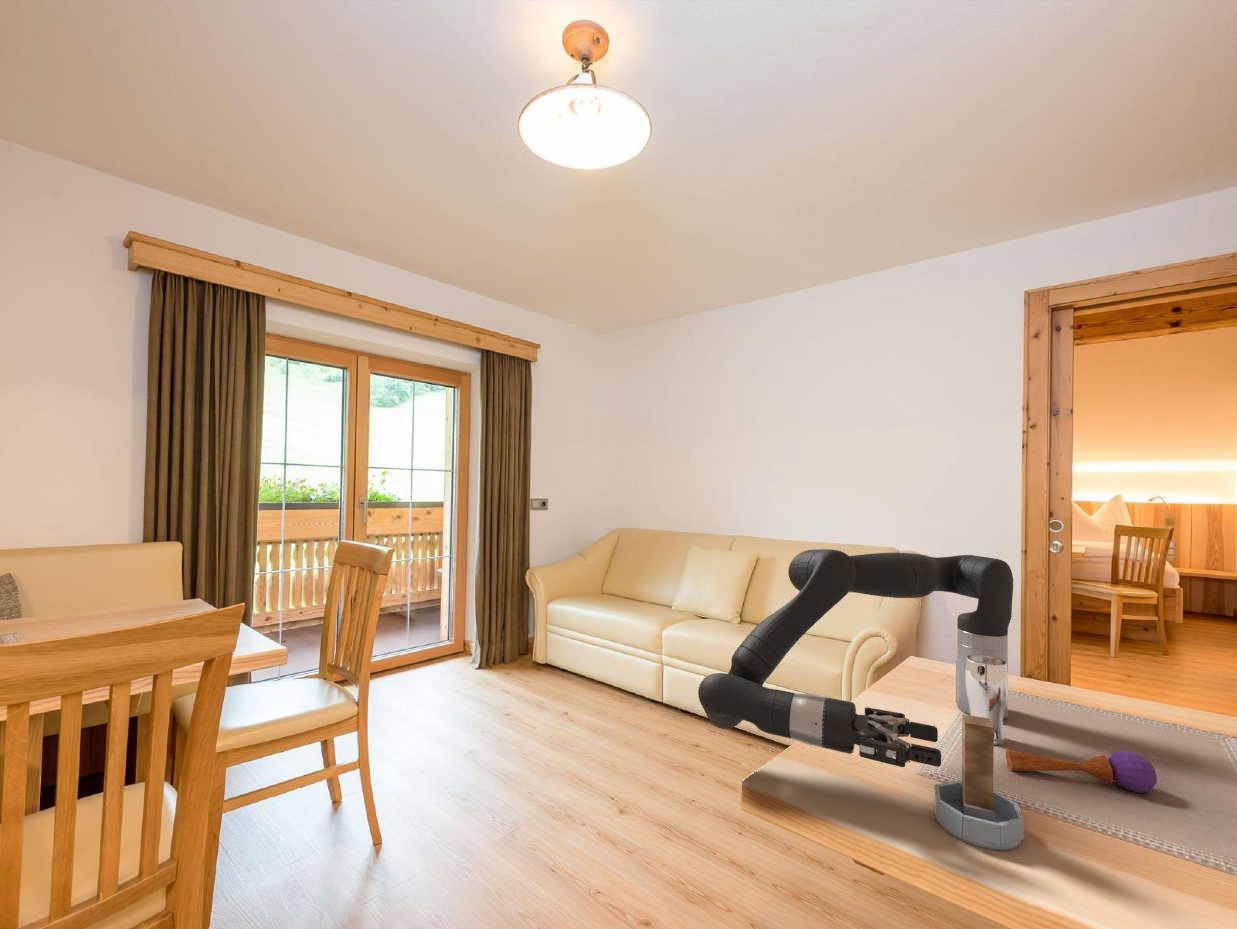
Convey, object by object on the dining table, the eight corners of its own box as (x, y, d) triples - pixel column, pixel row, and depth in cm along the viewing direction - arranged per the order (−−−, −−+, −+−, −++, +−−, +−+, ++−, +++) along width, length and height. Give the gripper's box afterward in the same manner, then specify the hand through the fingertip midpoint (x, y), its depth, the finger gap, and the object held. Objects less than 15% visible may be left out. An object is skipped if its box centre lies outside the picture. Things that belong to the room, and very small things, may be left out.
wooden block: (964, 822, 79) (965, 722, 80) (962, 810, 82) (962, 713, 83) (993, 829, 78) (993, 727, 78) (989, 816, 81) (989, 718, 81)
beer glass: (969, 742, 107) (969, 662, 107) (961, 727, 113) (962, 652, 113) (1012, 749, 104) (1012, 667, 104) (1002, 733, 110) (1002, 656, 111)
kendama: (1001, 737, 100) (1141, 748, 94) (1006, 774, 99) (1148, 788, 92) (1011, 745, 95) (1160, 758, 88) (1016, 784, 94) (1168, 800, 87)
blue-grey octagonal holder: (936, 835, 78) (937, 806, 78) (933, 798, 87) (933, 772, 87) (1028, 860, 73) (1028, 828, 73) (1014, 817, 82) (1014, 790, 83)
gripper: (817, 713, 83) (943, 739, 76) (828, 684, 96) (936, 703, 89) (816, 765, 83) (942, 795, 76) (827, 728, 96) (936, 751, 89)
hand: (939, 746), depth 82 cm, fingers open, 8 cm apart
